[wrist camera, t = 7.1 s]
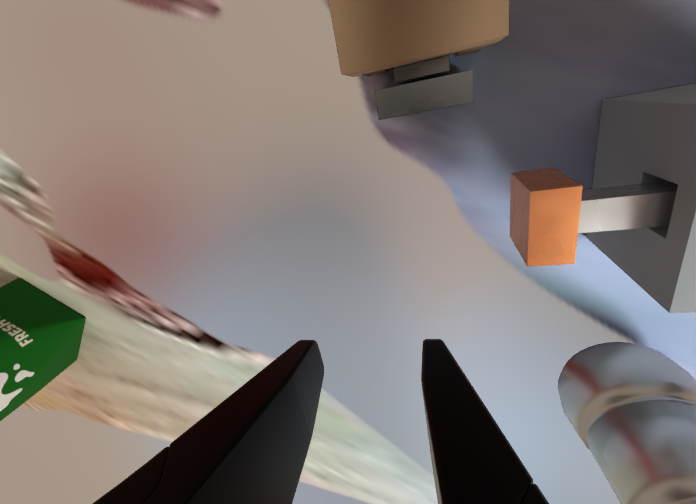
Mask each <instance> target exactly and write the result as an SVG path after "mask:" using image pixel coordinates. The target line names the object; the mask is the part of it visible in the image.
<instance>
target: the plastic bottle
mask: <svg viewBox="0 0 696 504" xmlns="http://www.w3.org/2000/svg"><path fill="white" fill-rule="evenodd" d="M558 389H559V394H560V399H561V403H562V407H563V410H564V413H565V414H566V416H567V418H568V419H569V421H570V423H571V424H572V426H573V427H574V429H575V431H576V432H577V434H578V435H579V437H580V438H581V439H582V441H583V442H584V444H585V445H586V446H587V448H588V449H589V450H590V451H591V452H592V454H593V456H594V458H595V459H596V461H597V463H598V465H599V466H600V468H601V470H602V472H603V473H604V475H605V477H606V479H607V480H608V482H609V483H610V486H611V487H612V489H613V491H614V492H615V494H616V496H617V498H618V500H619V501H620V503H621V504H696V380H695V379H694V378H693V377H692V376H691V374H690V373H689V372H687V371H686V370H685V369H683V368H682V367H681V366H679V365H678V364H677V363H675V362H674V361H673V360H671V359H670V358H669V357H667V356H666V355H664V354H662V353H661V352H659V351H657V350H654V349H652V348H648V347H644V346H640V345H636V344H631V343H623V342H611V343H603V344H598V345H594V346H591V347H588V348H586V349H584V350H582V351H580V352H578V353H577V354H575V355H574V356H573V357H572V358H571V359H570V360H569V361H568V362H567V363H566V365H565V366H564V368H563V370H562V372H561V375H560V377H559V380H558Z"/></svg>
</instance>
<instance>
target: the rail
mask: <svg viewBox="0 0 696 504" xmlns="http://www.w3.org/2000/svg"><path fill="white" fill-rule="evenodd" d="M393 70H394V79H395V83H402V82H406V81H411V80H415V79H420V78H425V77H429V76H434V75H438V74H443V73H447V72H448V71H449V70H450V67H449V55H445V56H441V57H436V58H432V59H428V60H424V61H419V62H415V63H411V64H406V65H402V66H398V67H393ZM375 96H376V103H377V110H378V118H379V120H382V119H387V118H393V117H398V116H403V115H408V114H414V113H419V112H424V111H429V110H435V109H440V108H445V107H450V106H456V105H461V104H466V103H471V102H474V97H473V70H469V71H464V72H460V73H455V74H450V75H446V76H441V77H437V78H432V79H427V80H423V81H418V82H413V83H409V84H404V85H399V86H395V87H390V88H386V89H381V90H376V91H375Z"/></svg>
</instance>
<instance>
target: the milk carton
mask: <svg viewBox="0 0 696 504" xmlns="http://www.w3.org/2000/svg"><path fill="white" fill-rule="evenodd" d="M85 319H86V318H85V317H83V316H82V315H80V314H78V313H77V312H75V311H73V310H72V309H70V308H68V307H67V306H65V305H63V304H62V303H60V302H58V301H57V300H55V299H54V298H52V297H50V296H49V295H47V294H45V293H44V292H42V291H40V290H39V289H37V288H35V287H34V286H32V285H30V284H29V283H27V282H25V281H24V280H22V279H20V278H17V279H16V280H14V281H12V282H10V283H8V284H6V285H4V286H2V287H0V421H1V420H2V419H4V418H5V417H6V416H7V415H9V414H10V413H11V412H12V411H14V410H15V409H17V408H18V407H19V406H20V405H22V404H23V403H24V402H25V401H27V400H28V399H29V398H31V397H32V396H33V395H34V394H36V393H37V392H38V391H40V390H41V389H42V388H43V387H44V386H46V385H47V384H48V383H49V382H50V381H52V380H53V379H54V378H55V377H56V376H58V375H59V374H60V373H61V372H62V371H64V370H65V369H66V368H67V367H68V366H70V365H71V364H72V363H73V362H75V361H76V360H77V357H78V352H79V347H80V343H81V338H82V333H83V328H84V324H85Z"/></svg>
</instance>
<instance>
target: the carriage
mask: <svg viewBox="0 0 696 504" xmlns="http://www.w3.org/2000/svg"><path fill="white" fill-rule="evenodd" d="M329 5H330V11H331V17H332V23H333V28H334V34H335V40H336V46H337V52H338V57H339V63H340V69H341V74H342V75H348V76H352V77H354V76H359V75H365V76H373V75H377V74H382V73H386V72H388V69H389V68H393V67H398V66H402V65H406V64H411V63H415V62H419V61H424V60H428V59H432V58H436V57H441V56H445V55H449V54H454V53H455V57H456V56H460V55H465V54H469V53H474V52H478V51H479V50H481V49H482V48H483V47H485V46H488V45H493V44H496V43H497V42H499V41H500V40H502V39H503V38H505V37H506V36H508V35H509V0H329Z"/></svg>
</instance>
